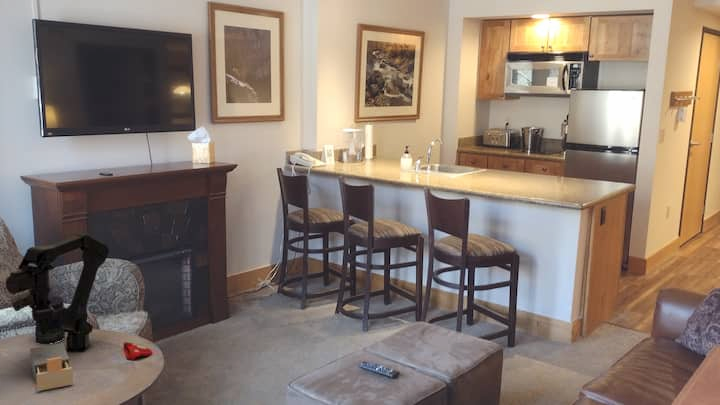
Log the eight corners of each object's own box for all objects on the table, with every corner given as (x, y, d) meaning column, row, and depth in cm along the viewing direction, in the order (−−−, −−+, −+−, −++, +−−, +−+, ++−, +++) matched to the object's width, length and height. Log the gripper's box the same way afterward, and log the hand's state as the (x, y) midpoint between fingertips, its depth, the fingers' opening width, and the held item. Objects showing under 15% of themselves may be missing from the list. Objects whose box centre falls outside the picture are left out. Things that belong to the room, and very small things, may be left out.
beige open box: (33, 372, 199) (31, 345, 197) (66, 366, 204) (65, 339, 202) (37, 391, 187) (36, 362, 185) (73, 384, 192) (71, 356, 190)
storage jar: (38, 335, 229) (36, 297, 226) (67, 333, 232) (65, 296, 229) (33, 346, 219) (31, 306, 217) (63, 343, 222) (61, 305, 220)
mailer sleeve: (31, 365, 205) (30, 348, 203) (63, 359, 210) (63, 343, 209) (35, 382, 193) (34, 364, 192) (69, 376, 198) (69, 358, 197)
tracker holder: (157, 347, 221) (146, 352, 211) (153, 359, 221) (142, 364, 211) (126, 337, 222) (113, 341, 212) (122, 349, 222) (109, 354, 212)
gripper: (9, 280, 204) (12, 324, 206) (13, 297, 188) (16, 344, 191) (47, 276, 210) (48, 319, 212) (53, 292, 194) (55, 338, 197)
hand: (41, 329), depth 203 cm, fingers open, 9 cm apart
